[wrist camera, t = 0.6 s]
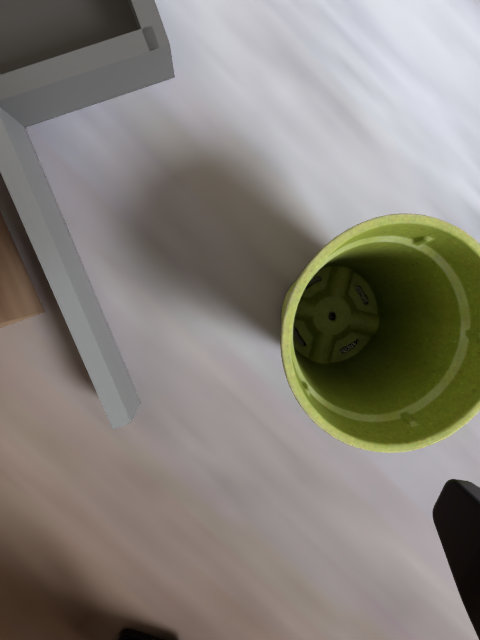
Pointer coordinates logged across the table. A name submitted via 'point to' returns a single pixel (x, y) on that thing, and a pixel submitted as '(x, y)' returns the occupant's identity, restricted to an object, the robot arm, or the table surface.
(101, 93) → the bent walled tray
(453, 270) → the plant pot
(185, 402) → the table surface
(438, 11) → the table surface
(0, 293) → the walnut block
